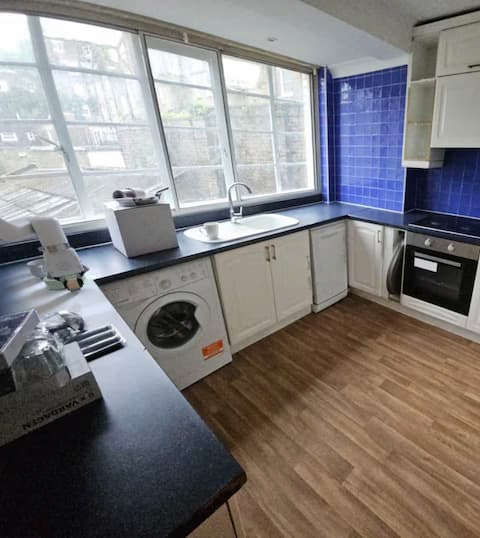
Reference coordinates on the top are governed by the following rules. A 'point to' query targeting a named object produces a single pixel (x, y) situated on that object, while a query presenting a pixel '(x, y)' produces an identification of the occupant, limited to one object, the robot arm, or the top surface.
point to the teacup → (38, 268)
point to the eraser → (73, 285)
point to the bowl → (56, 284)
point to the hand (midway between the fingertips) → (75, 287)
